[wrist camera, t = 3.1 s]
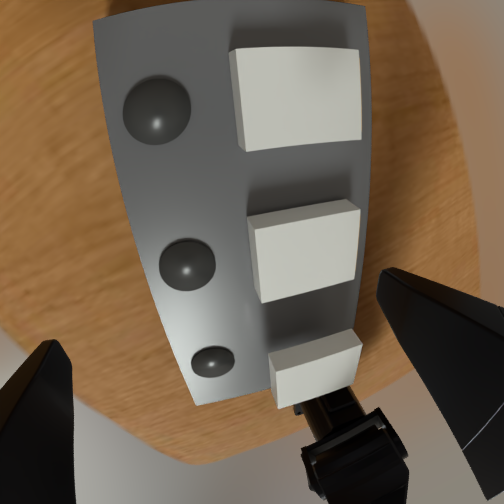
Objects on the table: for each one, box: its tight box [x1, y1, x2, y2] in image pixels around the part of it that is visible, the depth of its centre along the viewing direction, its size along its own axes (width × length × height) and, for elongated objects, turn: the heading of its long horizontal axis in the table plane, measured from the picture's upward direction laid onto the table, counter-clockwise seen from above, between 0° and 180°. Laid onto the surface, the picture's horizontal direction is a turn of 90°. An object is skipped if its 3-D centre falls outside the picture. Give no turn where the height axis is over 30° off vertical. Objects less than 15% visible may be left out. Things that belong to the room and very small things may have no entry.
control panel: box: [93, 0, 372, 406], centre depth 18 cm, size 26×13×3 cm, turn 5°
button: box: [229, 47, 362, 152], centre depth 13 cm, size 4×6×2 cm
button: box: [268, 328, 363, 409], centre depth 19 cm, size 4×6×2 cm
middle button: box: [247, 199, 360, 303], centre depth 17 cm, size 4×6×2 cm
